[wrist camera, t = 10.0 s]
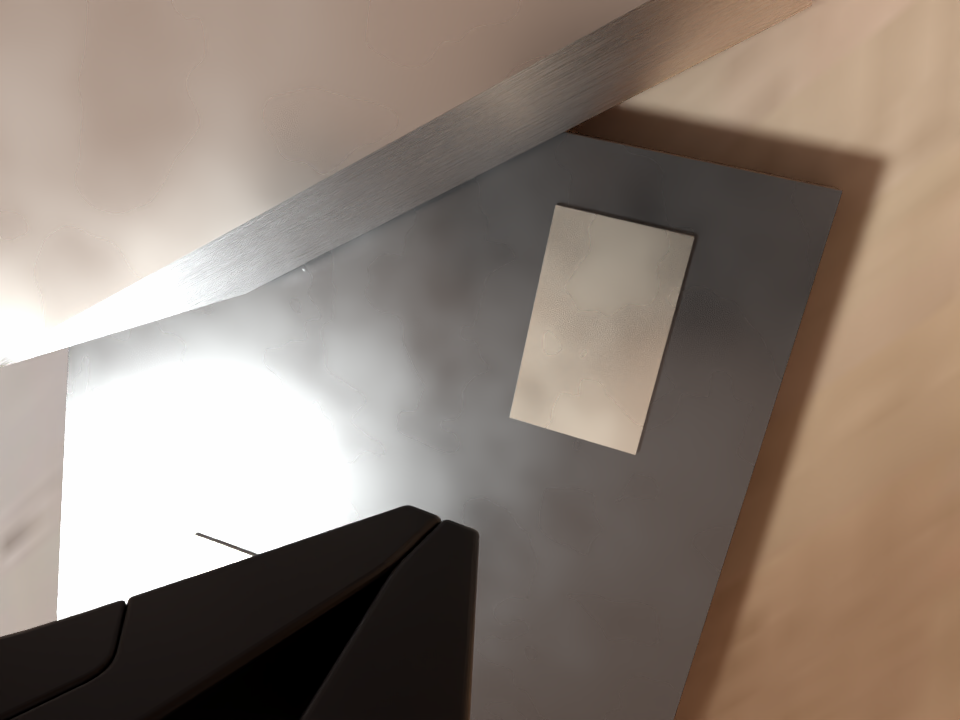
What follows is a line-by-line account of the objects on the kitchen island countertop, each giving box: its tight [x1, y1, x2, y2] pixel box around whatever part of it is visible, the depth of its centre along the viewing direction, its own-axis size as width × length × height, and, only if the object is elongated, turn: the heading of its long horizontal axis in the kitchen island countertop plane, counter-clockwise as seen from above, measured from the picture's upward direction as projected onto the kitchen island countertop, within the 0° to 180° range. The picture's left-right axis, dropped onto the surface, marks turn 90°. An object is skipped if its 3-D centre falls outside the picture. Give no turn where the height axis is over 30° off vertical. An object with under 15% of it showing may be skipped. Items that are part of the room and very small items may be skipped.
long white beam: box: [0, 0, 813, 367], centre depth 15 cm, size 5×16×8 cm, turn 116°
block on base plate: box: [57, 131, 842, 720], centre depth 18 cm, size 20×19×10 cm
